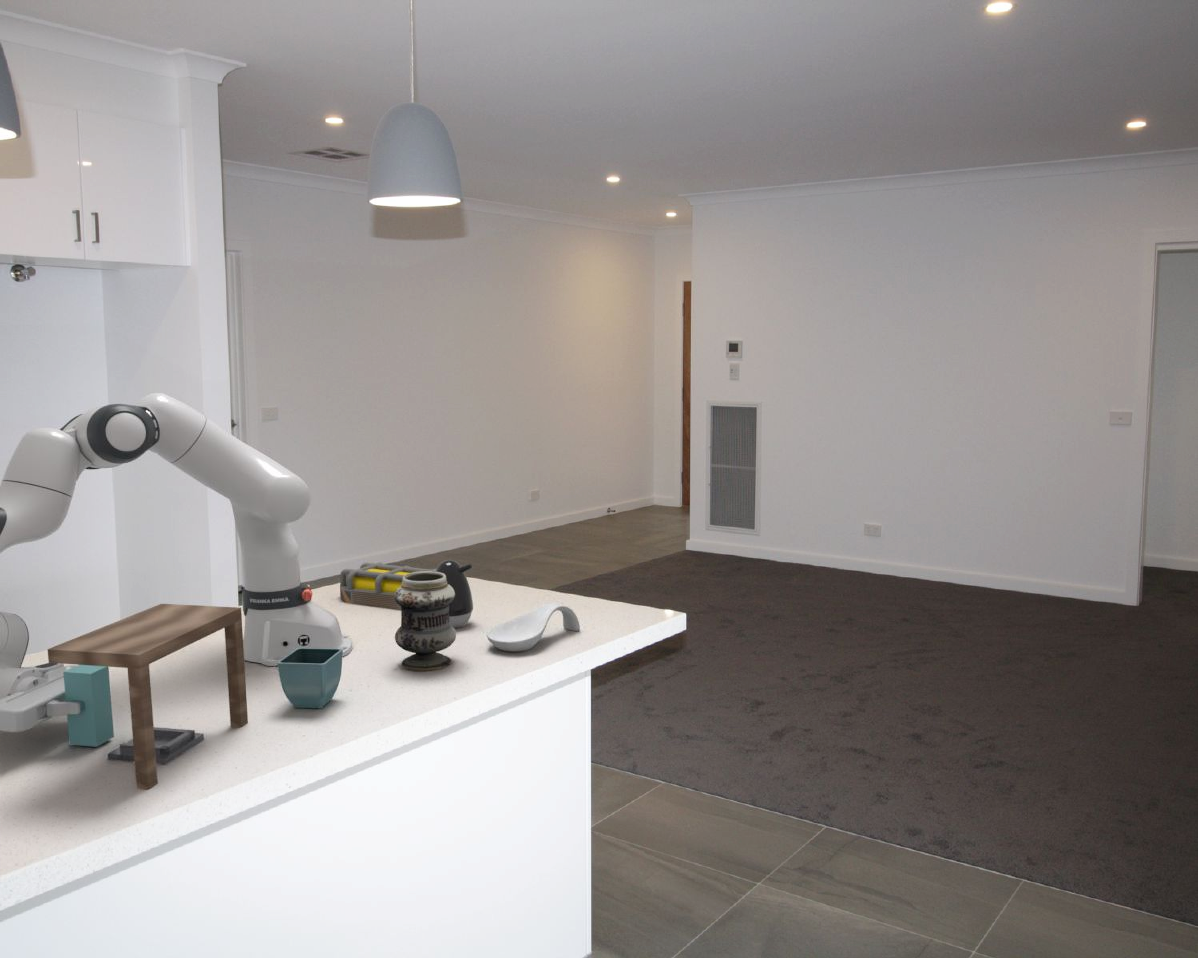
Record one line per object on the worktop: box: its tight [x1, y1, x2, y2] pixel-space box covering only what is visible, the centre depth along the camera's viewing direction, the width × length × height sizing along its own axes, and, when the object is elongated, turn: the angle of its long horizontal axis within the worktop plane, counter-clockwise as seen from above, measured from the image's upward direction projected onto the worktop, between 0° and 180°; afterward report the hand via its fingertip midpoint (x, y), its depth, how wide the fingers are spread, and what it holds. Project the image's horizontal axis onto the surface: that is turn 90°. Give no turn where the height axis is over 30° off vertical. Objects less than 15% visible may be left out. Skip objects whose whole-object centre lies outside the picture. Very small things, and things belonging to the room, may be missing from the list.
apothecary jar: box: [394, 571, 457, 672], centre depth 199 cm, size 12×12×18 cm
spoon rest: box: [486, 602, 581, 653], centre depth 214 cm, size 24×12×7 cm, turn 140°
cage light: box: [339, 562, 437, 611], centre depth 250 cm, size 15×8×30 cm
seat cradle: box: [107, 726, 205, 766], centre depth 159 cm, size 10×10×2 cm
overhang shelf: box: [47, 603, 249, 790], centre depth 157 cm, size 15×26×20 cm, turn 168°
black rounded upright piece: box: [435, 559, 474, 629], centre depth 226 cm, size 10×10×15 cm
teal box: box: [63, 665, 115, 748], centre depth 161 cm, size 5×4×12 cm
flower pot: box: [276, 648, 343, 709], centre depth 178 cm, size 9×9×9 cm
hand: (93, 701), depth 160 cm, fingers closed on teal box, 4 cm apart
